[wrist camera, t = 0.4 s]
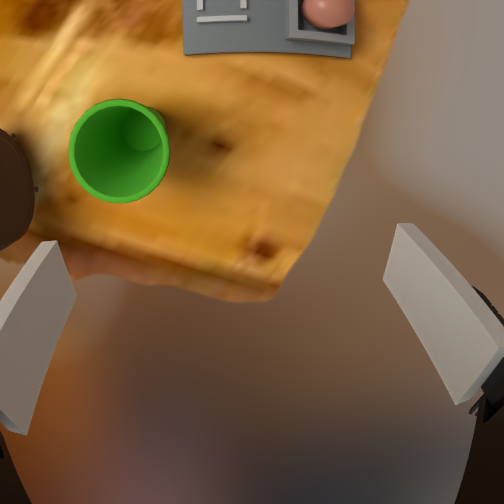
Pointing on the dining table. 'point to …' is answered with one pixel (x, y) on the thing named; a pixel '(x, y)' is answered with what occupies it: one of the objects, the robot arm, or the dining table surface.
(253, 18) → the panel
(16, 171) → the alarm clock
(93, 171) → the cup
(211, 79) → the dining table surface
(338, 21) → the round button
